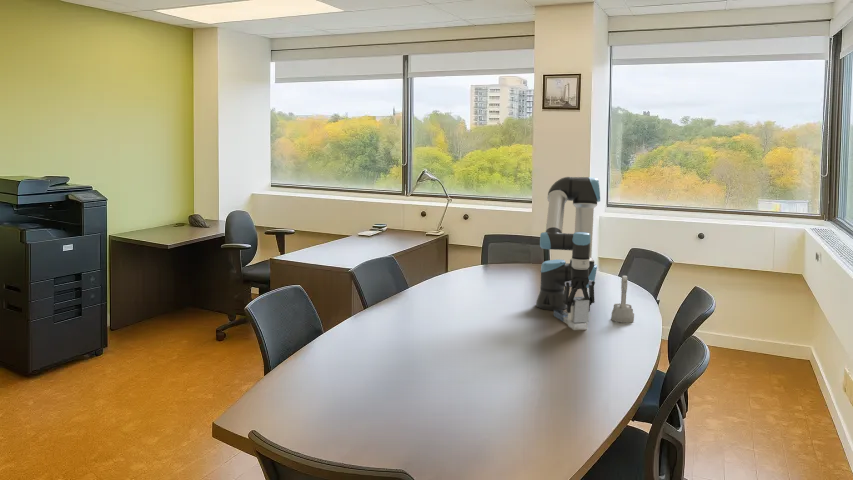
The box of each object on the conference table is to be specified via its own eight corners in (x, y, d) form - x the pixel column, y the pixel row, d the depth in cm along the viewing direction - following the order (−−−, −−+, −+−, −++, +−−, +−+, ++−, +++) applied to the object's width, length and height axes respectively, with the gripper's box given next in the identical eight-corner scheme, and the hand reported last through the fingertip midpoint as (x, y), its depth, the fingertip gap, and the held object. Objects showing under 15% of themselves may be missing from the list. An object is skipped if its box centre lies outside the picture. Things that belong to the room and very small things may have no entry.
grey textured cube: (567, 318, 291) (568, 297, 290) (581, 317, 293) (582, 296, 291) (574, 322, 285) (575, 300, 284) (588, 321, 287) (589, 300, 285)
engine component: (612, 321, 300) (634, 323, 298) (614, 277, 297) (637, 279, 295) (610, 315, 311) (632, 317, 309) (612, 273, 307) (635, 274, 305)
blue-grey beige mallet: (551, 315, 309) (552, 300, 308) (563, 315, 310) (564, 299, 309) (574, 330, 286) (574, 313, 285) (586, 329, 287) (587, 312, 286)
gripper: (563, 270, 280) (560, 322, 283) (605, 268, 284) (602, 320, 288) (555, 267, 287) (553, 318, 290) (596, 265, 291) (594, 315, 295)
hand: (577, 319), depth 289 cm, fingers closed on grey textured cube, 7 cm apart
